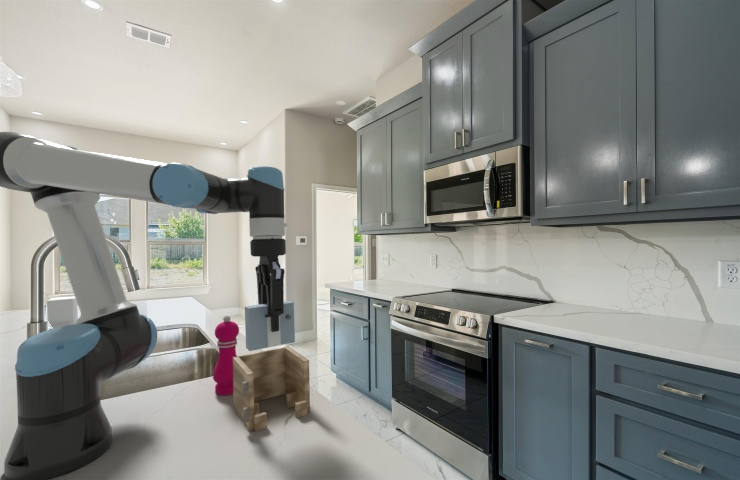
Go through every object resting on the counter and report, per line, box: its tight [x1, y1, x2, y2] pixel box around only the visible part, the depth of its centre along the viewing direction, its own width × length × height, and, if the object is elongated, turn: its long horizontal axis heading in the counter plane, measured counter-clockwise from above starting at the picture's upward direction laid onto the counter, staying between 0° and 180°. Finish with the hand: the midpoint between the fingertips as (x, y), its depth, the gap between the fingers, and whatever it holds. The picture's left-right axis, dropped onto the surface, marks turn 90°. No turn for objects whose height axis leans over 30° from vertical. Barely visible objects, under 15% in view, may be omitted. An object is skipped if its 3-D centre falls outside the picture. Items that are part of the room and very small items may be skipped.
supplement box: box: [46, 295, 79, 329], centre depth 157 cm, size 9×9×15 cm
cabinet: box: [232, 346, 311, 432], centre depth 81 cm, size 15×14×12 cm
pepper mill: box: [212, 315, 240, 396], centre depth 92 cm, size 7×7×20 cm
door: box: [244, 300, 296, 352], centre depth 76 cm, size 10×4×9 cm, turn 123°
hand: (271, 343), depth 77 cm, fingers closed on door, 3 cm apart
